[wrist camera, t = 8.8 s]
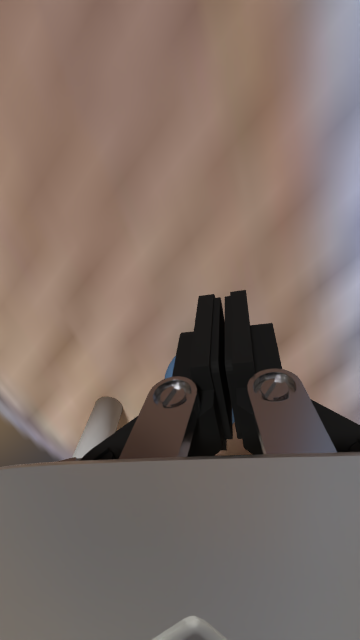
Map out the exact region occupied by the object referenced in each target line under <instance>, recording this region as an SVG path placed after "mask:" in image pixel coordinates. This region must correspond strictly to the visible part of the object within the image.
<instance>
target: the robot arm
mask: <svg viewBox="0 0 360 640" xmlns="http://www.w3.org/2000/svg"><path fill="white" fill-rule="evenodd" d="M230 295H231V296H227V297H225V321H224V315H223V309H222V303H221V298H220V297H219V298H215V295H214V294H211V295H204V296H199V298H198V306H197V313H196V320H195V327H194V332H185V333H181V334H180V338H179V343H178V348H177V353H176V358H175V363H174V368H173V373H172V377H170V378H166V379H164V380H162V381H160V382H158V383H157V384H156V385H154V386H153V387H152V389H151V390H150V392H149V394H148V396H147V398H146V400H145V402H144V405H143V407H142V409H141V411H140V413H139V416H137V417H136V418H135V419H133V420H132V421H130V422H129V423H127V424H126V425H125V426H123V427H122V428H120V429H119V430H118V431H116V432H115V433H113V434H112V435H111V436H109V437H108V438H106V439H105V440H104V441H102V442H101V443H99V444H98V445H97V446H95V447H94V448H92V449H91V450H90V451H89V452H87V453H86V454H85V455H84V456H83V458H82V459H81V460H77V458H76V457H73V458H69V459H65V460H61V461H57V462H47V463H33V464H21V465H12V466H6V467H0V640H360V425H358V424H356V423H354V422H353V421H351V420H349V419H347V418H345V417H343V416H341V415H339V414H337V413H336V412H334V411H332V410H330V409H328V408H326V407H324V406H322V405H320V404H318V403H317V402H315V401H313V400H311V399H310V398H309V396H308V394H307V392H306V390H305V388H304V386H303V384H302V382H301V380H300V379H299V378H298V377H297V376H296V375H295V374H293V373H292V372H289V371H287V370H284V369H282V366H281V362H280V357H279V352H278V347H277V343H276V338H275V333H274V328H273V324H272V323H269V324H259V325H250V322H249V313H248V305H247V296H246V290H242V291H235V292H230ZM232 410H233V415H234V421H235V427H236V432H237V438H238V439H243V445H244V448H245V449H246V450H248V451H249V452H250V453H252V454H253V455H229V456H214V455H216V454H217V453H218V452H219V451H220V450H226V439H232V438H233V431H232Z"/></svg>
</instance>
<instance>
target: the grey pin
mask: <svg viewBox="0 0 360 640" xmlns="http://www.w3.org/2000/svg"><path fill="white" fill-rule="evenodd" d="M122 410H123V408H122V405H121V403H120V402H119V401H118V400H116V399H114V398H112V397H101V398H99V399H98V400H97V401H96V403H95V406H94V408H93V410H92V413H91V415H90V417H89V420H88V422H87V424H86V427H85V429H84V431H83V434H82V436H81V438H80V441H79V443H78V445H77V448H76V450H75V452H74V455H73V457H76V458H77V460H81V459H82V458H83V456H84V455H85V454H86V453H87V452H89V451H90V450H91V449H92V448H94V447H95V446H97V445H98V444H99V443H101V442H102V441H104V440H105V439H106V438H108V437H109V436H111V435H112V434H113V433H115V432H116V429H117V426H118V423H119V420H120V416H121V413H122ZM73 457H72V458H73Z"/></svg>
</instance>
